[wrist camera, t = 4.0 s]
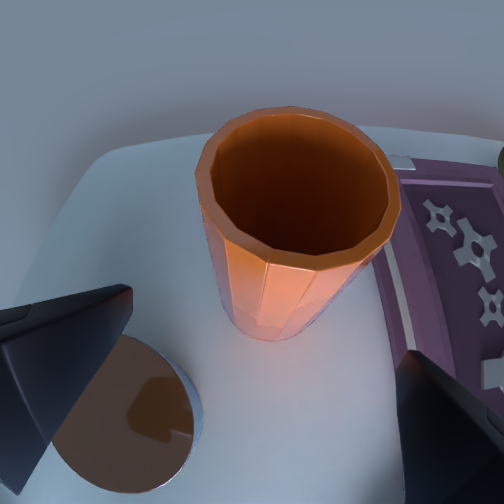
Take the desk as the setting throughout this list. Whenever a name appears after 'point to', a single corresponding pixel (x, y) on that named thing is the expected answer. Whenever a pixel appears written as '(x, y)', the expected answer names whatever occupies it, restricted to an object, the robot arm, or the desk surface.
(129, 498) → the desk surface
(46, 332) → the robot arm
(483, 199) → the book
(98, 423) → the jar
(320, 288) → the cup
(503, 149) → the fruit
